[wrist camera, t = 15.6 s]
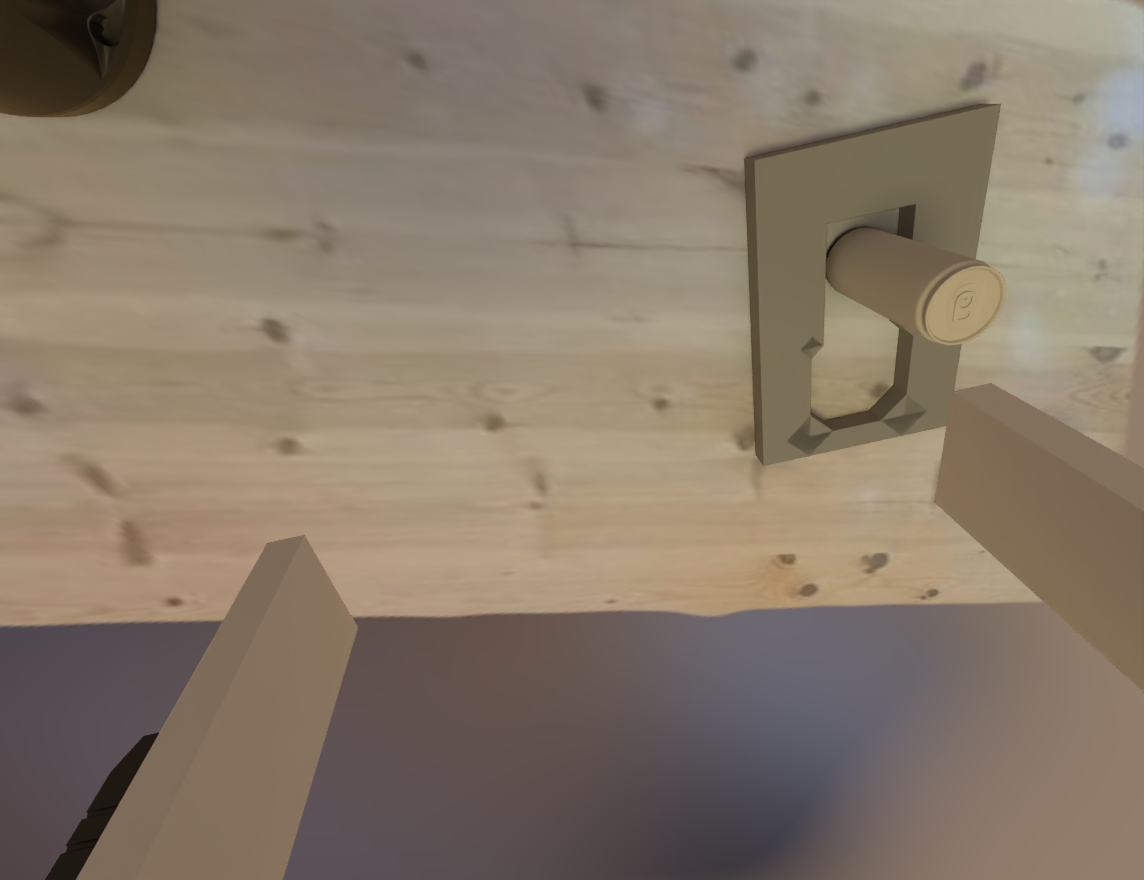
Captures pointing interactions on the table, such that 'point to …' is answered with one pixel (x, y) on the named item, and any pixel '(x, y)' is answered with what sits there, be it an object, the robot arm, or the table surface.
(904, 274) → the beverage can
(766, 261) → the flat rectangular frame
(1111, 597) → the robot arm
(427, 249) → the table surface
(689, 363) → the table surface
